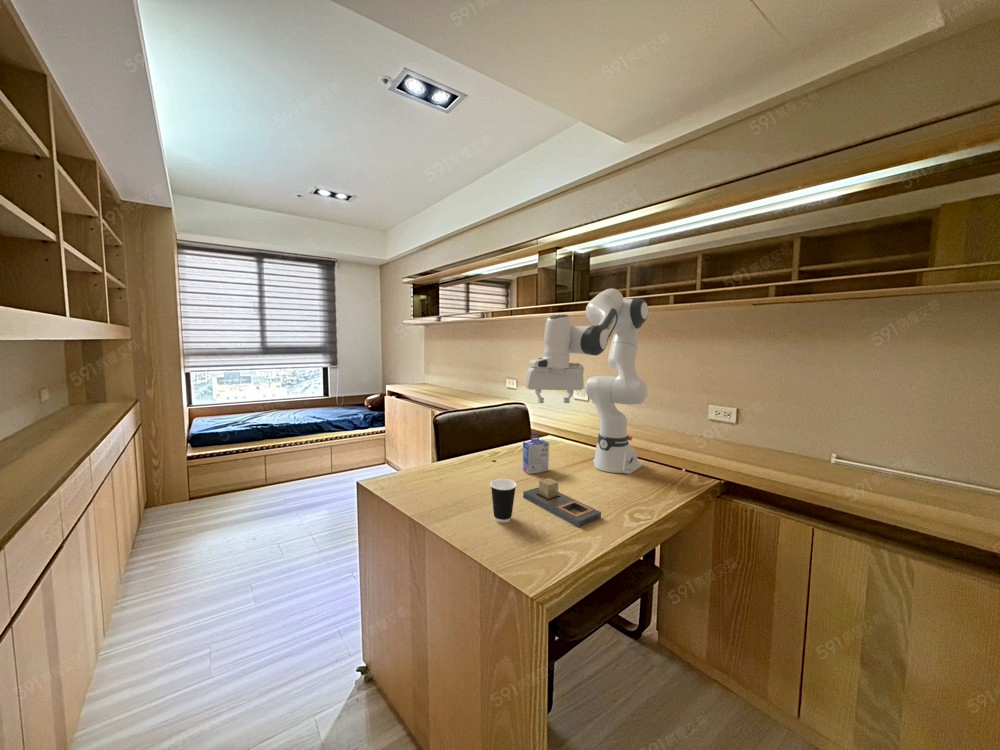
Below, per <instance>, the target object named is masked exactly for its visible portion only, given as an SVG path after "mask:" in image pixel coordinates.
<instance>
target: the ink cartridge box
mask: <svg viewBox="0 0 1000 750" xmlns="http://www.w3.org/2000/svg"><path fill="white" fill-rule="evenodd" d="M533 438H534V439H533ZM549 457H550V442H549V441H547V440H545V439H540V437H539V435H530V441H523V442H522V471H523V472H524V473H526V474H527V475H533V474H538V473H545V472H549V459H550V458H549Z"/></svg>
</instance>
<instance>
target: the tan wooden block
mask: <svg viewBox="0 0 1000 750" xmlns="http://www.w3.org/2000/svg"><path fill="white" fill-rule="evenodd" d="M538 487H539V497H541V498H543V499H545V500H547V501H549V500H552V499H555V498H558V492H559V481H557V480H555V479H552V478H551V477H548V478H544V479H540V480H539V481H538Z"/></svg>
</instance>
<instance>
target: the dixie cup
mask: <svg viewBox="0 0 1000 750" xmlns="http://www.w3.org/2000/svg"><path fill="white" fill-rule="evenodd" d="M489 485H490V488H491V497H492V508H493V509H492V510H493V517H494V520H495V521H496V522H498V523H508V522H510V521H511V517H512V515H513V511H514V510H513V509H514V508H513V507H514V502H515V494H516V493H515V492H516V487H517V482H516V481H514V480H512V479H508V478H497V479H494V480H492V481H490V484H489Z"/></svg>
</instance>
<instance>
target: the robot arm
mask: <svg viewBox="0 0 1000 750" xmlns="http://www.w3.org/2000/svg"><path fill="white" fill-rule="evenodd" d="M585 315H586V318H587V320H588V322H589V323H591V325H574V324H572V322H571V317H570V315H568V314H553V315H550V316H548V317H547V319H546V322H545V326H544V335H543V337H544V338H543V341H544V349H543V352H542V353H543V356H541V357H537V358H533V359H530V360H529V362H528V364H529V365H528V366H530V367H528V369H527V371H526V376H525V384H524V385H525V387H526V389H527V390H529V391H530V390H533V391H535V394H536V396H537V403H539V404H544V402H545V397H542V395H541V393H542V391H543V390H546V391H547V390H548V391H551V390H552V391H566V393H567V395H566V397H565V396H564V397H563V403H564V404H570V400H571V397H573V394H574V391H582V390H583V389H584V392H585V394H586V396H587V397H588V398H589V399H590V400H591V401H592V403H593V404H594V405H595V407H596V409H597V410H596V411H598V416H599V433H598V434H597V442H598V443H597V444H596V446H595V447H596V448H595V453H594V454H595V455H594V458H593V459H592V462H593V467H594V468H595V469H597V470H600V471H603V472H607V473H617V474H627V475H630V474H632V473H634V472H635V471H637V470H638V469H640V468H642V467H643V466H644V463H643V462H641V461H640V460H638V451H636V449H635V448H633V446H631V445H630V443H629V441H632V440H633V436H632V435H629V434H628V433H627V431H628V419H627V417H626V415H625V414H624V413H623V412H622V411H620V410H619V409H618V408H617V407H616V405H615V404H621V405H630V406H632V405H641V404H642V403H644V402H645V400H646V399H647V397H648V392H649V391H648V387H647V385H646V383H645V382H644V381H643V380H642V379H641V378H640V376H639V375H638V373H637V370H636V359H637V352H638V346H639V336H640V334H639V333H640V332H639V329H640V328H642V325H643V324H645V322H646V320H647V319H648V316H649V305H648V303H647V302H646V301H645V299H643V298H638V297H636V298H635V297H634V298H624V296H623V294H622V292H621V291H619V290H618V289H616V288H612V287H611V288H607V289H605V290H602V291H601V292H600V293H598V294H597V295H596V296H594V297H593V298H592V299H590V301H589V302H588V303H587V305H586V308H585ZM615 328H616V329H615ZM614 329H615V331H614ZM613 332H614V333H613ZM612 333H613V336H612V339H611V343H610V347H609V351H608V357H607V363H608V365H609V366H610V367H611V368H612V369H613V370H615V371H617V372H618V373H617V374H618V375H617V376H609V375H595V376H594V375H593V376H590V377H589V378H588V379H587V380H586V382H585V381H584V372H585V369H584V366H583V365H582V364H581V363H579V362H577V363H575V362H570V357H571V356H570V354H578V355H579V354H580V355H581V354H582V355H587V356H589V355H590V356H599V355H601V354H602V353H604V351H605V350H606V348H607V346H608V342H609V339H610V337H611V335H612ZM584 382H585V383H584ZM584 384H585V385H584Z"/></svg>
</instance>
